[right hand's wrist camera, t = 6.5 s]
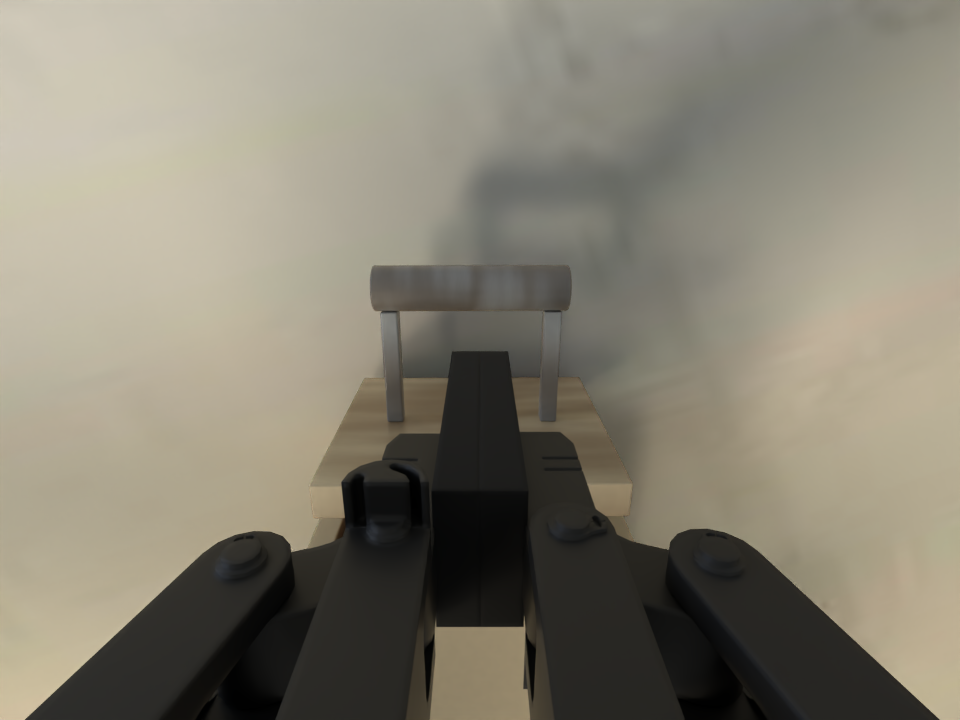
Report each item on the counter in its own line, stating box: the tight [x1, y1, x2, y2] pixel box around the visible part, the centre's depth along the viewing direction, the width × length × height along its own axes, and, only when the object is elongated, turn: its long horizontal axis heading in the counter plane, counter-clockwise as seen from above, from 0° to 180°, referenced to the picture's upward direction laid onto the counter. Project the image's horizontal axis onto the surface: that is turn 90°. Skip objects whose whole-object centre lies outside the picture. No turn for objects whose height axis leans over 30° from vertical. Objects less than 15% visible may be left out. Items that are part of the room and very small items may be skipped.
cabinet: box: [307, 516, 634, 720], centre depth 24 cm, size 20×11×11 cm, turn 0°
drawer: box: [309, 265, 633, 518], centre depth 22 cm, size 25×10×9 cm, turn 0°
